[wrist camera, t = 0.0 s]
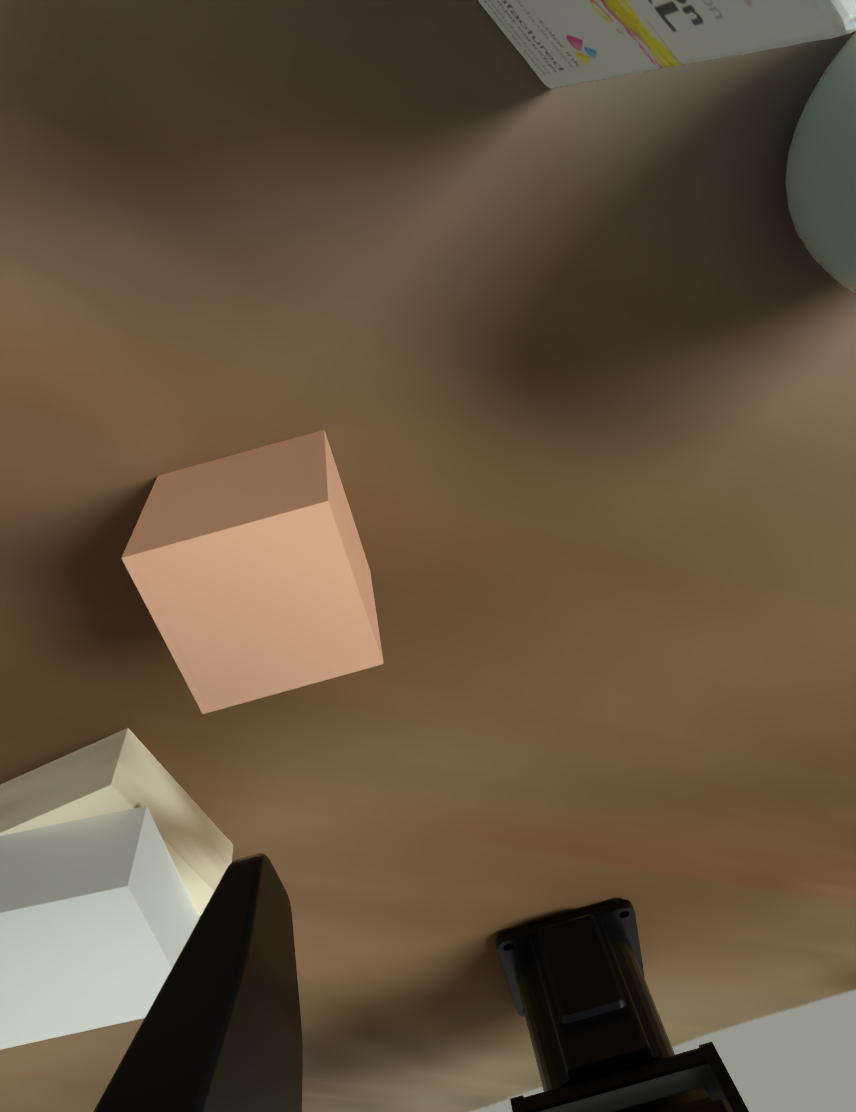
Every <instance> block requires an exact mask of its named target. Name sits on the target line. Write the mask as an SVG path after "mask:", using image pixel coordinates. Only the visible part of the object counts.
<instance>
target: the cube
mask: <svg viewBox="0 0 856 1112" xmlns="http://www.w3.org/2000/svg"><path fill="white" fill-rule="evenodd" d="M122 560H123V562H124V564H125V566H126V568H127V570H128V572H129V574H130V576H131V578H132V580H133V581H134V583H135V585H136V587H137V589H138V591H139V593H140V595H141V597H142V599H143V601H144V603H145V604H146V606H147V608H148V610H149V612H150V614H151V616H152V618H153V620H154V622H155V624H156V625H157V627H158V629H159V631H160V633H161V635H162V637H163V639H164V641H165V643H166V645H167V647H168V648H169V650H170V652H171V654H172V656H173V658H174V660H175V662H176V664H177V666H178V668H179V669H180V671H181V673H182V675H183V677H184V679H185V681H186V683H187V685H188V687H189V689H190V691H191V692H192V694H193V696H194V698H195V700H196V702H197V704H198V706H199V708H200V710H201V712H202V714H205V713H209V712H212V711H216V710H219V709H223V708H227V707H230V706H234V705H237V704H241V703H245V702H248V701H252V700H255V699H259V698H263V697H266V696H270V695H273V694H277V693H281V692H284V691H288V690H291V689H295V688H299V687H302V686H306V685H309V684H313V683H317V682H320V681H324V680H327V679H331V678H334V677H338V676H342V675H345V674H349V673H352V672H356V671H360V670H363V669H367V668H370V667H374V666H378V665H381V664H384V663H383V656H382V649H381V642H380V636H379V629H378V622H377V615H376V608H375V601H374V594H373V587H372V580H371V573H370V569H369V566H368V563H367V560H366V557H365V554H364V551H363V548H362V544H361V541H360V538H359V535H358V532H357V529H356V526H355V523H354V520H353V517H352V514H351V511H350V508H349V504H348V501H347V498H346V495H345V492H344V489H343V486H342V483H341V480H340V477H339V474H338V471H337V467H336V464H335V461H334V458H333V455H332V452H331V449H330V446H329V443H328V440H327V437H326V434H325V431H324V430H321V431H318V432H314V433H310V434H307V435H303V436H300V437H296V438H292V439H289V440H285V441H282V442H278V443H274V444H271V445H267V446H263V447H260V448H256V449H253V450H249V451H245V452H242V453H238V454H235V455H231V456H227V457H224V458H220V459H216V460H213V461H209V462H206V463H202V464H198V465H195V466H191V467H188V468H184V469H180V470H177V471H173V472H169V473H166V474H162V475H159V476H157V479H156V481H155V483H154V485H153V488H152V490H151V492H150V494H149V497H148V499H147V501H146V503H145V506H144V508H143V510H142V512H141V515H140V517H139V519H138V522H137V524H136V526H135V528H134V531H133V533H132V535H131V537H130V540H129V542H128V544H127V546H126V549H125V551H124V553H123V555H122Z"/></svg>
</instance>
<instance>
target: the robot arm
mask: <svg viewBox="0 0 856 1112" xmlns="http://www.w3.org/2000/svg"><path fill="white" fill-rule="evenodd" d="M496 945H497V949H498V952H499V955H500V959H501V962H502V965H503V968H504V971H505V974H506V977H507V981H508V984H509V987H510V990H511V993H512V996H513V999H514V1002H515V1006H516V1009H517V1012H518V1014H519V1015H521V1016H525V1017H526V1021H527V1025H528V1029H529V1033H530V1037H531V1041H532V1045H533V1049H534V1053H535V1057H536V1062H537V1066H538V1070H539V1074H540V1078H541V1082H542V1086H543V1090H544V1092H543V1093H539V1094H535V1095H532V1096H528V1097H525V1098H524V1097H523V1095H522V1096H519V1097H515V1098H512V1099H510V1100H511V1105H512V1111H513V1112H749V1111H748V1109H747V1107H746V1106H745V1104H744V1102H743V1100H742V1098H741V1096H740V1094H739V1092H738V1090H737V1088H736V1087H735V1085H734V1083H733V1081H732V1079H731V1077H730V1075H729V1073H728V1071H727V1069H726V1068H725V1066H724V1064H723V1062H722V1060H721V1058H720V1056H719V1055H718V1053H717V1051H716V1049H715V1047H714V1045H713V1043H712V1042H709V1043H705V1044H702V1045H699V1048H697V1049H694V1050H690V1051H687V1052H683V1053H680V1054H676V1055H675V1054H674V1051H673V1049H672V1046H671V1044H670V1041H669V1039H668V1036H667V1034H666V1031H665V1029H664V1026H663V1024H662V1021H661V1019H660V1016H659V1014H658V1011H657V1009H656V1006H655V1004H654V1001H653V999H652V996H651V994H650V991H649V989H648V986H647V984H646V982H645V979H644V971H643V964H642V958H641V951H640V944H639V938H638V931H637V924H636V917H635V911H634V909H633V907H632V904H631V902H630V901H628V900H619V901H616V902H612V903H609V904H605V905H602V906H598V907H595V908H591V909H587V910H584V911H580V912H577V913H573V914H570V915H566V916H563V917H559V918H556V919H552V920H548V921H545V922H541V923H538V924H534V925H531V926H527V927H524V928H520V929H516V930H513V931H509V932H506V933H503V934H501V935H499V936H498V937H497V939H496ZM94 1112H302V1031H301V1017H300V1005H299V993H298V982H297V970H296V958H295V947H294V935H293V923H292V912H291V906H290V901H289V898H288V895H287V892H286V890H285V888H284V886H283V884H282V882H281V881H280V879H279V877H278V875H277V873H276V871H275V869H274V867H273V865H272V863H271V861H270V860H269V858H268V857H267V856H266V855H265V854H256V855H252V856H248V857H245V858H241V859H237V860H235V861H233V862H232V863H231V864H230V865H229V866H228V868H227V869H226V871H225V873H224V875H223V876H222V878H221V880H220V882H219V884H218V886H217V887H216V889H215V891H214V893H213V895H212V897H211V898H210V900H209V902H208V904H207V906H206V908H205V909H204V911H203V913H202V915H201V917H200V918H199V920H198V922H197V924H196V926H195V928H194V929H193V931H192V933H191V935H190V937H189V939H188V940H187V942H186V944H185V946H184V948H183V949H182V951H181V953H180V955H179V957H178V959H177V960H176V962H175V964H174V966H173V968H172V970H171V971H170V973H169V975H168V977H167V979H166V981H165V982H164V984H163V986H162V988H161V990H160V991H159V993H158V995H157V997H156V999H155V1001H154V1002H153V1004H152V1006H151V1008H150V1010H149V1012H148V1013H147V1015H146V1017H145V1019H144V1021H143V1022H142V1024H141V1026H140V1028H139V1030H138V1032H137V1033H136V1035H135V1037H134V1039H133V1041H132V1043H131V1044H130V1046H129V1048H128V1050H127V1052H126V1054H125V1055H124V1057H123V1059H122V1061H121V1063H120V1064H119V1066H118V1068H117V1070H116V1072H115V1074H114V1075H113V1077H112V1079H111V1081H110V1083H109V1085H108V1086H107V1088H106V1090H105V1092H104V1094H103V1096H102V1097H101V1099H100V1101H99V1103H98V1105H97V1106H96V1108H95V1110H94Z"/></svg>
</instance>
